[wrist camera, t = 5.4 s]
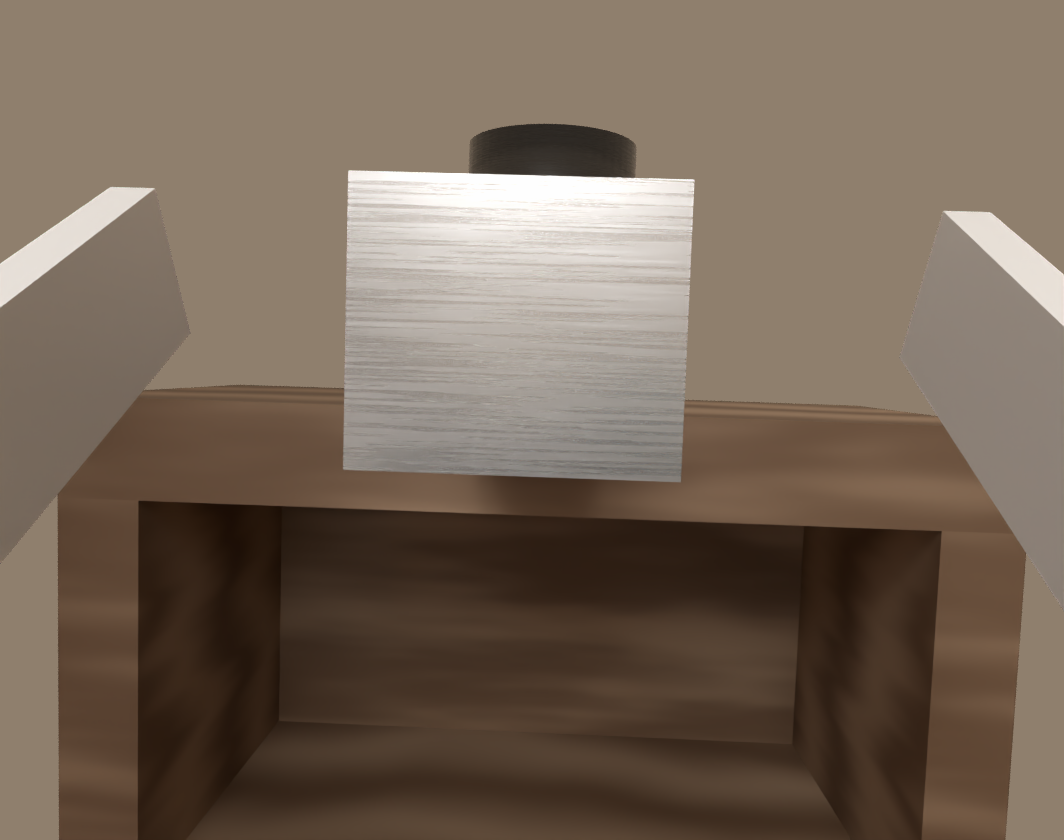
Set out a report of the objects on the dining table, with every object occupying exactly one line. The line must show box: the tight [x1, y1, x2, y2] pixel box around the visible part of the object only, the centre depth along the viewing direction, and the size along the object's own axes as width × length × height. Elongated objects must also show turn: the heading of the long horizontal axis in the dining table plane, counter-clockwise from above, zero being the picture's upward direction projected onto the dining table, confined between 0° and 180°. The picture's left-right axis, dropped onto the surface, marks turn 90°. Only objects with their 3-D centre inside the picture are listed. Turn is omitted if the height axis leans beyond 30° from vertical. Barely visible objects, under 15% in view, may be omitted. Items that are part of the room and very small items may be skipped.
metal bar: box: [343, 124, 694, 482], centre depth 24 cm, size 30×7×10 cm, turn 178°
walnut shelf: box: [58, 385, 1026, 840], centre depth 32 cm, size 14×28×30 cm, turn 88°
